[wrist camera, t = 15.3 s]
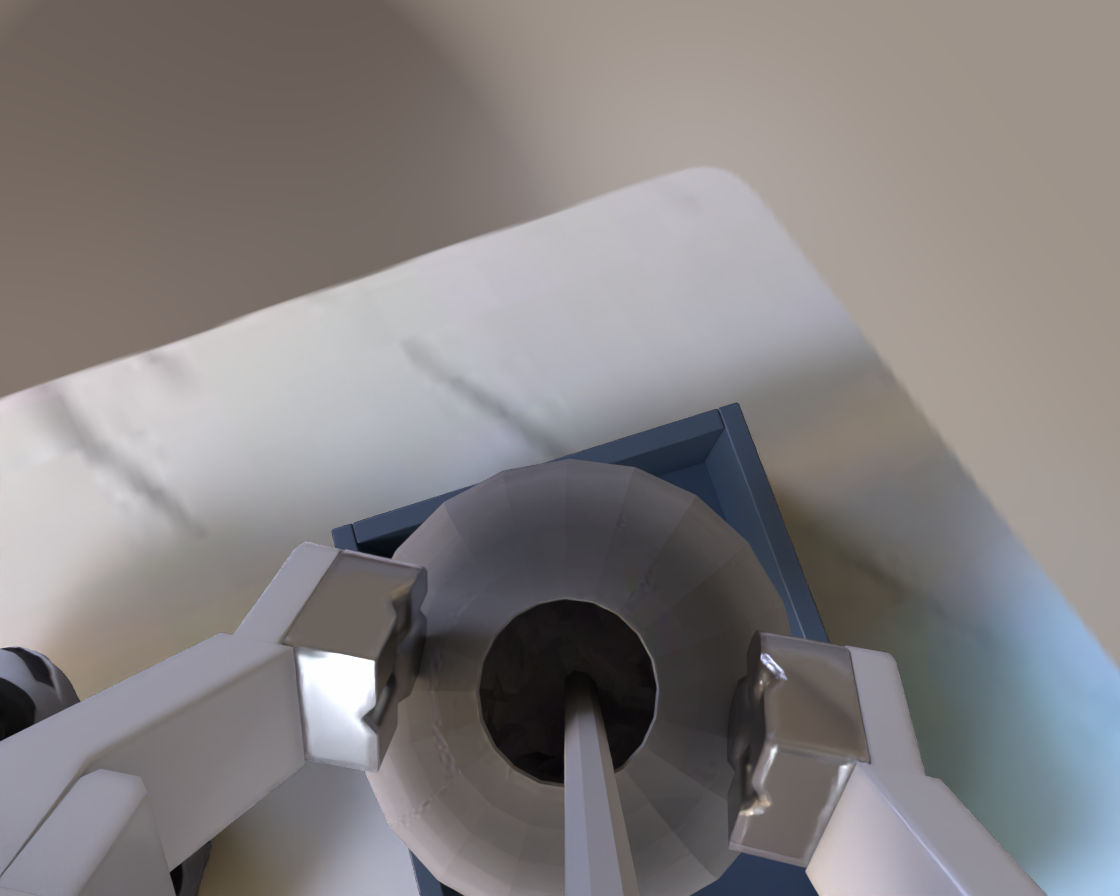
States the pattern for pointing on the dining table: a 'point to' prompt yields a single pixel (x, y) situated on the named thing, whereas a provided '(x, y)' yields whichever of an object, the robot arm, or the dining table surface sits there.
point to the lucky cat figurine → (44, 690)
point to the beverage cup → (574, 686)
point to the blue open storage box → (731, 492)
